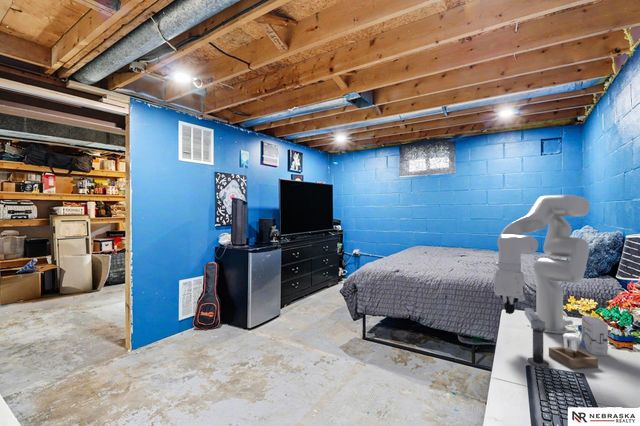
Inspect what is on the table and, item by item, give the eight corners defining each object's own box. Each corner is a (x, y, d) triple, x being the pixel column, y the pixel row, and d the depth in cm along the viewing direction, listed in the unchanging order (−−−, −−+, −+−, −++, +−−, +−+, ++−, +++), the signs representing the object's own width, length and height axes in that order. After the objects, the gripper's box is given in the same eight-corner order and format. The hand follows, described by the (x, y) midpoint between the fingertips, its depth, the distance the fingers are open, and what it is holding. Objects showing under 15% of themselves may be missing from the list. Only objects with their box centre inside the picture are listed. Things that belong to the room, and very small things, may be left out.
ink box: (580, 344, 120) (580, 314, 120) (596, 346, 118) (596, 316, 118) (591, 354, 112) (591, 322, 112) (608, 356, 110) (608, 324, 110)
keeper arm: (546, 331, 102) (546, 324, 102) (532, 329, 104) (532, 322, 104) (534, 315, 119) (534, 308, 119) (522, 313, 120) (522, 307, 120)
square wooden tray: (572, 354, 111) (572, 346, 111) (598, 367, 102) (598, 358, 102) (548, 355, 111) (548, 347, 111) (572, 369, 101) (572, 360, 101)
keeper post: (539, 358, 108) (539, 325, 108) (553, 367, 102) (553, 332, 102) (523, 359, 108) (523, 326, 108) (536, 368, 102) (536, 333, 102)
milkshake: (585, 364, 103) (585, 334, 103) (567, 362, 105) (567, 333, 104) (577, 357, 108) (577, 329, 108) (560, 356, 109) (560, 328, 109)
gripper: (485, 265, 125) (485, 309, 125) (526, 271, 113) (526, 320, 113) (494, 263, 129) (494, 306, 129) (535, 269, 117) (535, 316, 117)
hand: (509, 312), depth 121 cm, fingers closed
